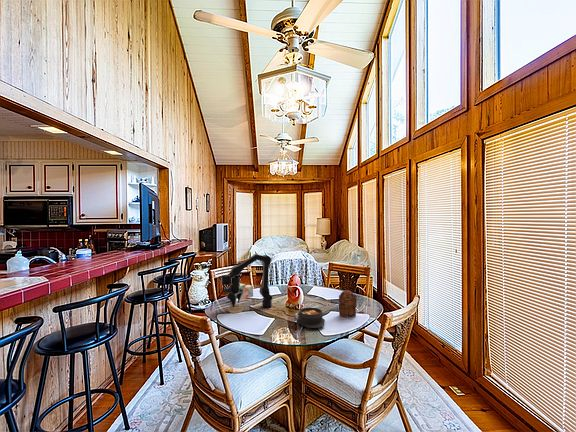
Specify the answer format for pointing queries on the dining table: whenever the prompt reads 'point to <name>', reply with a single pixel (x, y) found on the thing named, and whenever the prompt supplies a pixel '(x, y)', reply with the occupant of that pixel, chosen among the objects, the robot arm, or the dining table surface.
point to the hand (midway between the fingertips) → (235, 304)
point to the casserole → (311, 317)
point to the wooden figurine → (347, 304)
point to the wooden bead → (236, 309)
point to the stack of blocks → (246, 291)
